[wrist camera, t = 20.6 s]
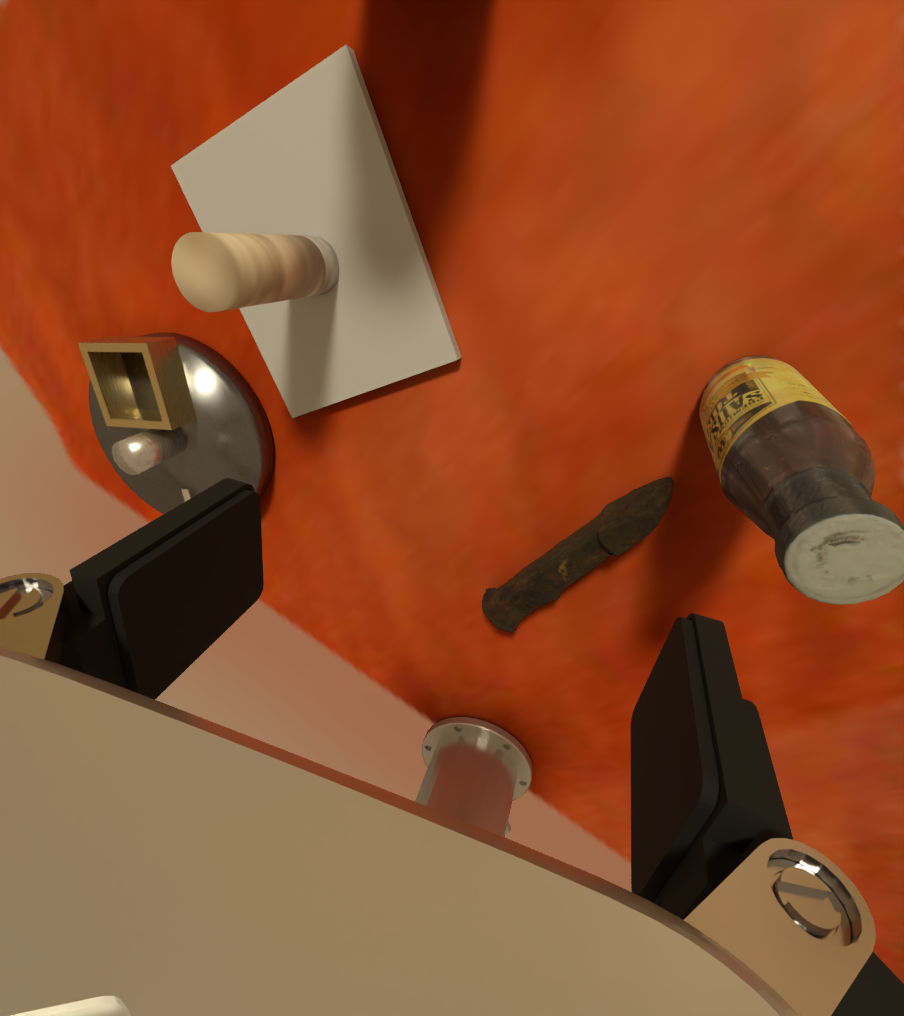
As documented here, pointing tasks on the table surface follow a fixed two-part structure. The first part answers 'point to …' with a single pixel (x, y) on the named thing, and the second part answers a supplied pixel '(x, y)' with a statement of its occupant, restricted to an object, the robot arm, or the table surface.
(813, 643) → the table surface
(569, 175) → the table surface
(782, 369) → the sauce bottle
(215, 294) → the beige rounded cylinder
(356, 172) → the mat
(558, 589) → the hand tool
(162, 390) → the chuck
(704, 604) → the table surface
